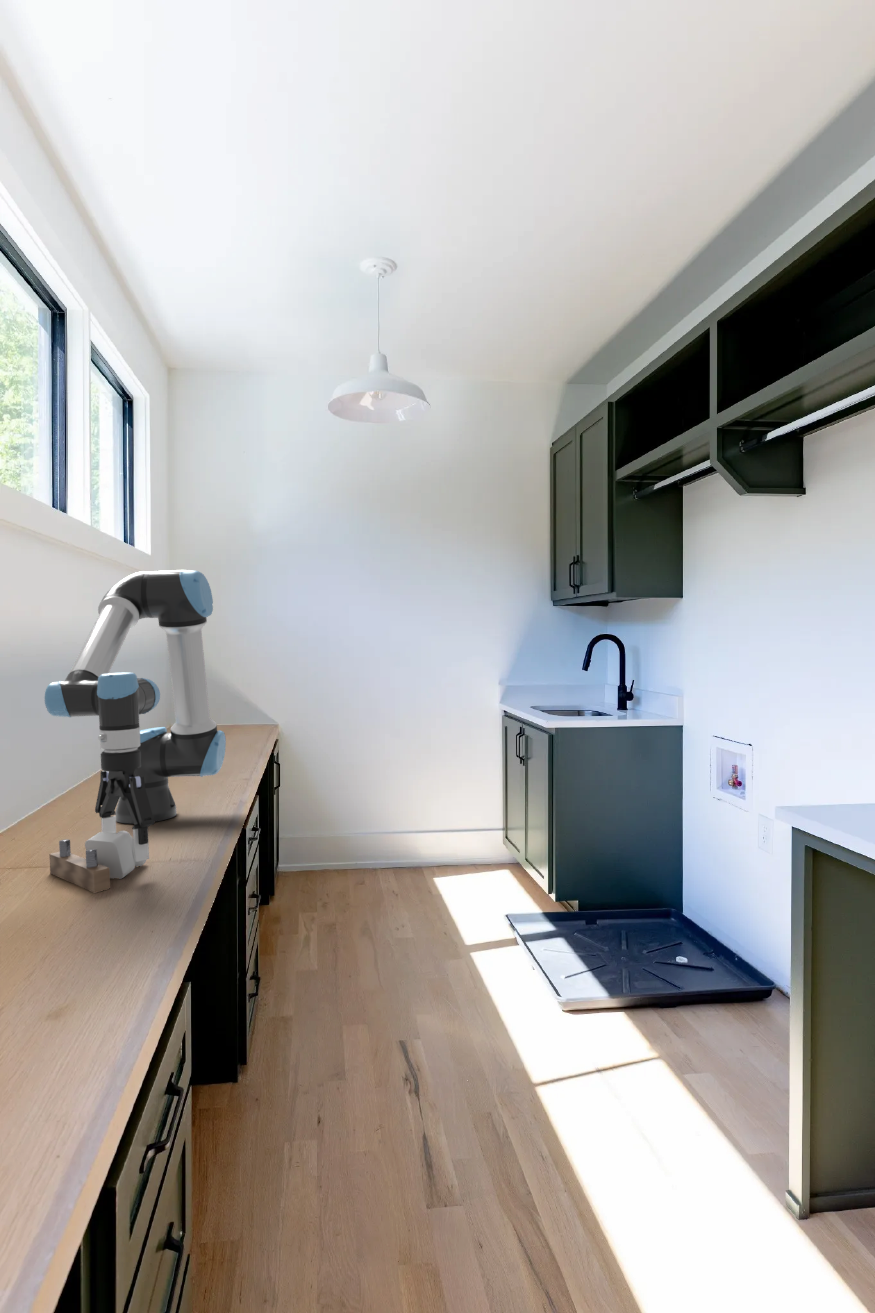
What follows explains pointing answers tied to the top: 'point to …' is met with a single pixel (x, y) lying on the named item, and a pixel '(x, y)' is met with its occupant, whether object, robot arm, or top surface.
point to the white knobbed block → (114, 852)
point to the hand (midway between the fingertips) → (125, 854)
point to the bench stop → (79, 868)
